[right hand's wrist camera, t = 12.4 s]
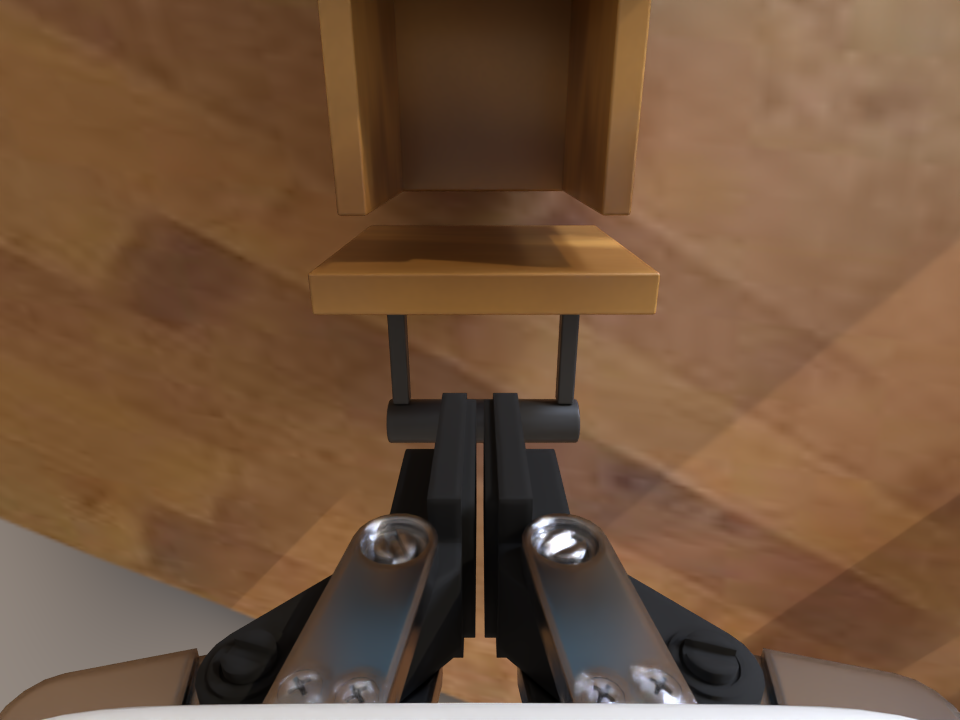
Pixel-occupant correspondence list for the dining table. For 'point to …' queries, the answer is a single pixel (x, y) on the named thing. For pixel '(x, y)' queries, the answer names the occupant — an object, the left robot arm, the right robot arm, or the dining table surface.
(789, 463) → the dining table surface
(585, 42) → the drawer
